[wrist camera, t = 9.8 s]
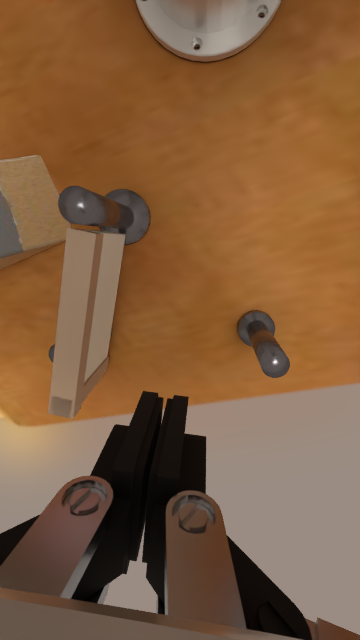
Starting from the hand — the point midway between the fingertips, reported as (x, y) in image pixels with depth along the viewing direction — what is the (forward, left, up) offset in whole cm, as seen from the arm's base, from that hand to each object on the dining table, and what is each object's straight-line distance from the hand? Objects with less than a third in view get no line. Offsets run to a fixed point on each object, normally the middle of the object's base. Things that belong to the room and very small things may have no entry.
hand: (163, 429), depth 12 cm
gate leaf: (-7, -5, -21) cm, 22 cm away
